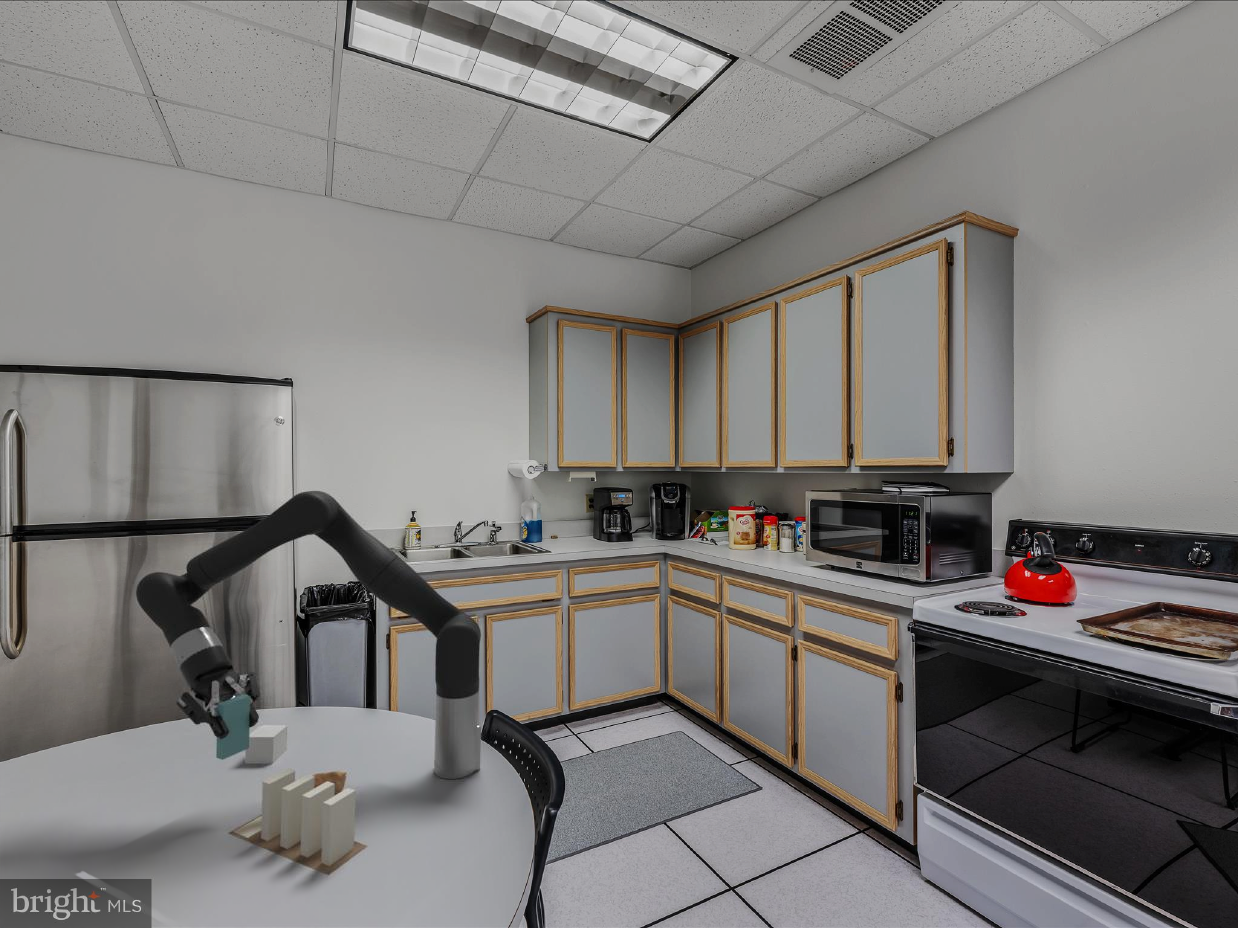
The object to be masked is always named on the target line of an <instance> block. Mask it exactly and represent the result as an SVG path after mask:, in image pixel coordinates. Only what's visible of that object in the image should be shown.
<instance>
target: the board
mask: <svg viewBox="0 0 1238 928" xmlns="http://www.w3.org/2000/svg"><path fill="white" fill-rule="evenodd" d="M261 823H262V814H260V815H258V816H256V817H254V818H253V819H251V820H250V821H248V822H246V823H244V824H242V825H240V826H238V827H236V828H235V829H233V830H231V831H230V832H228V835H231V836H233V837H236V838H238V839H240V840H243V841H246V842H248V843H250V844H253V845H255V846H258V847H260V848H263V849H265V850H266V851H270V852H272V853H274V854H277V855H280V856H282V857H284V858H287V859H289V860H292V861H294V862H295V863H298V864H301V865H304V866H306V867H308V868H311V869H312V870H315V871H319V872H320V873H323V874H325V875H327V876H329V875H330V874H332V873H333V872H334V871H336V870H337V869H338V868H340V867H341V866H343V865H344V864H345V863H347V862H348V861H350V860H351V859H352V858H354V857H355V856H357V855H358V854H359V853H361V852H362V851H364V850H365V849H366V848H367V847H368V845H366V844H363V843H361V842H358V841H356V840H354V849H352V850H351V851H350V852H348V853H347V854H345V855H344V856H343V857H341V858H340V859H338V860H337V861H336V862H334V863H333V864H331V865H330V866H328V865H325V864H323V863H321V862H322V848H321V849H320V850H318V851H317V852H315V853H314V854H312V855H311V856H309V857H306V856H303V855H301V841H300V842H298V843H296V844H295V845H293V846H292V847H290V848H289V849H286V848H284V847H281V846H280V843H281V834H279V835H277V836H276V837H274V838H272V839H271V840H269V841H266V840H264V839H261Z"/></svg>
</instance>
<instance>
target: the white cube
mask: <svg viewBox="0 0 1238 928" xmlns="http://www.w3.org/2000/svg"><path fill="white" fill-rule="evenodd" d="M287 750H288V725H287V724H286V725H282V724H281V725H279V724H278V725H275V724H274V725H273V724H272V725H265V724H264V725H262V724H261V725H260V726H258V727H257V728H256V729H254V730H253V731H252V732H251V733H249V748H248V749H246V750H245V759H244V761H245V765H246V764H249V765H250V764H251V765H253V764H255V765H256V764H257V765H258V764H259V765H260V764H261V765H262V764H263V765H264V764H267V765H269V764H270V765H272V764H274V763H275V762H276V761H277V760H278V759H279V758H281V757H282V756H283V755H284V754H285V753H286V752H287ZM285 751H286V752H285ZM284 752H285V753H284ZM282 754H283V755H282Z"/></svg>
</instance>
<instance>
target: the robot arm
mask: <svg viewBox="0 0 1238 928" xmlns="http://www.w3.org/2000/svg"><path fill="white" fill-rule="evenodd" d="M311 535H315V536H316V537H318V539H320V540H322V541H323V542H324V543H326V545H328V546H330V547H331V548H333V550H335V552H337V554H338V555H339V556H341V558H342V559H343V560H344V562H345V564H346V566H347V567H348V568H349V570H350V571H351V573H352V574H353V575H354V577H355V578H356V579H357V580H358V581H359V583H360V584H361V585H362V586H363V587H365V589H367V590H368V591H369V592H370V593H371V594H373V596H375V597H376V598H377V599H379V600H380V601H381V602H383V603H384V604H385V605H386V606H389V607H391V608H392V609H395V610H396V611H399V612H401V613H403V614H404V615H407V616H410V617H411V618H413V619H415V620H417V621H418V622H419V623H421V625H423V626H424V627H425V628H426V629H427V631H429V632H430V633H431V634H432V635H433V636H434V637H435V638H436V643H435V657H434V658H435V659H434V660H435V668H434V669H435V670H434V671H435V676H434V677H435V678H434V679H435V681H434V682H435V686H436V688H435V689H436V690H435V722H434V723H435V724H434V725H435V727H434V728H435V731H434V733H435V734H434V762H433V765H434V768H433V771H434V774H435V775H436V776H437V777H439V778H442V779H447V780H455V779H461V778H465V777H467V776H469V775H471V774H473V773H474V772H476V771H479V770H480V769H481V745H482V744H481V743H482V725H480V723H479V707H480V706H479V700H480V672H479V671H480V646H481V645H480V643H481V638H482V633H481V628H480V625H479V624H478V623H477V621H476V620H475V619H474V618H472V617H471V616H470V615H468V614H467V613H465V612H464V611H463V610H461V609H459V608H458V607H457V606H455V605H454V604H452V603H451V602H450V601H449V600H447V599H445V598H444V597H443V596H442V595H441V594H439V593H438V592H437V591H436V590H435V589H434V588H433V587H432V586H431V585H430V583H428V582H427V581H426V580H425V579H424V578H423V576H421V575H420V574H419V573H417V571H415V570H414V568H412V567H411V566H410V565H409V564H408V563H407V562H406V561H404V560H403V559H402V558H401V557H400V556H398V555H397V554H396V553H395V552H394V551H392V550H391V549H390V548H389V547H388V546H386V545H385V544H384V543H382V542H381V541H380V540H379V539H377V537H375V536H373V535H372V534H371V533H369V532H368V531H366V530H365V529H364V528H363V527H362V526H361V525H360V524H359V523H358V522H357V520H356V521H355V519H354V518H353V517H352V516H351V515H350V514H349V513H348V512H347V510H345V509H344V507H343V505H341V504H340V503H339V502H338V501H337V500H336V498H335V497H333V496H332V495H330V493H327V492H325V491H322V490H321V491H320V490H307V491H303V492H299V493H297V494H295V495H293V496H292V497H291V498H289V499H288V500H287V501H286V502H285V503H283V504H282V505H281V506H279V507H278V508H276V509H275V510H274V511H273V512H272V513H270V514H269V515H268V516H266V517H265V518H263V519H262V520H260V521H258V522H257V523H255V524H254V525H252V526H250V527H249V528H247V529H245V530H243V531H242V532H240V533H237V534H236V535H233V536H232V537H231V536H230V537H229V538H228V539H225V540H224V541H222V542H220V543H218V544H216V545H214V546H212V547H210V548H209V549H207V550H204V551H203V552H201V553H199V554H198V555H197V554H196V556H194V557H192V558H191V559H190V560H189V561H188V562H187V564H186V573H183V574H182V575H177V574H173V573H169V572H164V571H163V572H162V571H157V572H152V573H148V574H147V575H145V576H144V577H142V578H141V579H140V581H139V582H138V584H137V586H136V590H135V596H136V600H137V602H138V605H139V607H140V608H141V609H142V610H143V612H144V613H145V614H146V615H147V617H148V618H149V619H150V620H151V621H152V622H153V623H154V624H155V625H156V626H157V627H158V628H160V629H161V631H162V633H163V635H164V637H165V640H166V641H167V643H168V645H169V647H170V648H171V652H172V655H173V658H174V660H175V663H176V665H177V667H178V669H179V671H180V672H181V674H182V676H183V678H184V680H185V682H186V684H187V686H188V687H189V688H190V691H189V692H186V691H185V692H183V693H182V694H181V696H180V697H179V698H178V700H176V705H177V706H178V707H179V708H180V710H182V711H183V713H184V714H185V715H186V716H187V718H189V719H190V720H191V722H192V723H193V724H194V725H196V726H199V725H200V724H204V723H205V724H208V725H209V727H210V729H211V731H212V732H213V735H214V736H215V737H216V738H217V737H219V739H223V738H225V737H226V736H227V735H228V734H229V729H228V728H227V726H226V724H225V722H224V721H223V719H222V717H221V715H220V716H218V715H219V711H218V709H217V704H218V703H221V702H224V701H227V700H230V699H233V698H236V697H238V696H241V695H248V696H250V711H249V727H250V728H253V727H255V726H256V725H257V723H258V722H259V718H260V715H259V713H258V711H257V709H256V708H255V706H254V704H255V703H256V701H257V700H258V699H259V698H260V697H261V692H260V689H259V684H258V680H257V676H256V673H255V672H254V671H249V672H248V673H247V674H239V673H238V672H236V671H235V670H234V667H233V662H232V661H231V659H230V657H229V655H228V653H227V652H226V650H225V648H224V646H223V644H222V642H221V641H220V639H219V637H218V635H217V634H216V633H215V632H214V631H213V629H212V627H211V625H210V624H209V622H208V620H207V618H206V616H205V614H204V613H203V611H201V610H200V609H199V608H198V607H196V606H193V604H195V603H196V602H197V601H199V600H200V599H201V598H202V597H203V596H204V595H206V593H207V592H209V591H210V590H211V589H212V588H213V587H214V586H215V585H217V584H219V583H221V582H223V581H225V580H227V579H229V578H230V577H232V576H234V575H236V574H238V573H239V572H240V571H242V570H244V569H246V568H247V567H248V566H250V565H252V564H253V563H254V562H256V561H257V560H259V559H260V558H262V557H263V556H264V555H266V554H267V553H269V552H271V551H272V550H274V549H276V548H278V547H280V546H283V545H285V544H287V543H289V542H291V541H295V540H297V539H300V538H304V537H306V536H311ZM239 684H241V686H240V685H239ZM198 700H199V701H201V702H203V707H202V705H201V704H200V703H199V702H198Z"/></svg>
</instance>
